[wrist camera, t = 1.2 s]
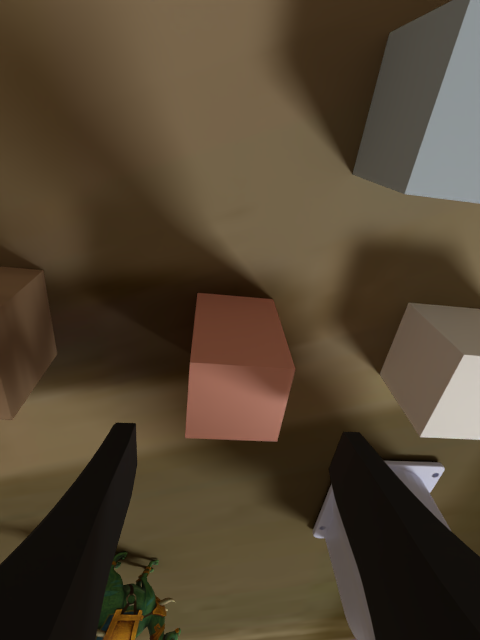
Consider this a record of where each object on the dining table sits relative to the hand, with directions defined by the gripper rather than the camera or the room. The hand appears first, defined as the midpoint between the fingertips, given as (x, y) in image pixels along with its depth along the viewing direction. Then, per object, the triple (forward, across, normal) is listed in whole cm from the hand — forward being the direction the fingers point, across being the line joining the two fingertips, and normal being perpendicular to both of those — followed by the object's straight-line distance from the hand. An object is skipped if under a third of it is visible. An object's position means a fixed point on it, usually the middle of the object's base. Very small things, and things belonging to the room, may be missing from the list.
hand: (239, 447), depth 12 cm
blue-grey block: (+8, -7, -11) cm, 15 cm away
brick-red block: (+8, 0, 0) cm, 8 cm away
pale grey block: (+8, -12, 0) cm, 15 cm away
